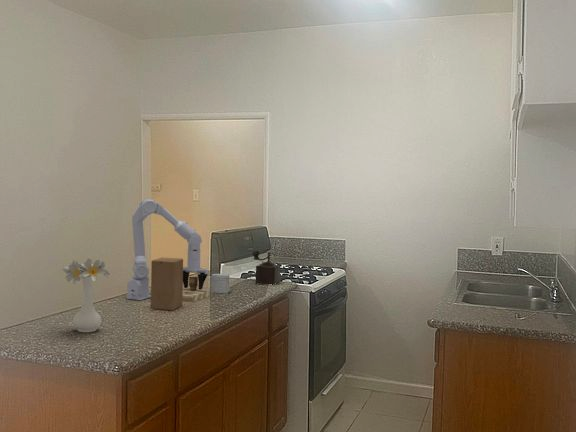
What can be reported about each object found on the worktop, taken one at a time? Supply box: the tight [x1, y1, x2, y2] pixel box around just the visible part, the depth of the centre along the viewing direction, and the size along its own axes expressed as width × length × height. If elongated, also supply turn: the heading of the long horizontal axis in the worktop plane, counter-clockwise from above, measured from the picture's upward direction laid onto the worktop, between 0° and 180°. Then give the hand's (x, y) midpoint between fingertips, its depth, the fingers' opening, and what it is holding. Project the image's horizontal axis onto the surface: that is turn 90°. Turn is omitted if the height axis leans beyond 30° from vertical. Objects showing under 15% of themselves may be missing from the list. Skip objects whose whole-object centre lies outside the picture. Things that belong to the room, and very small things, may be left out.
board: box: [182, 288, 210, 303], centre depth 256 cm, size 14×12×2 cm
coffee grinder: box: [252, 249, 281, 286], centre depth 297 cm, size 16×11×18 cm
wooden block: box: [150, 257, 184, 311], centre depth 235 cm, size 10×10×20 cm
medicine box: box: [210, 273, 230, 294], centre depth 270 cm, size 8×4×9 cm, turn 84°
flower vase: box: [62, 258, 110, 333], centre depth 195 cm, size 13×18×25 cm
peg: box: [188, 276, 199, 291], centre depth 260 cm, size 4×4×6 cm
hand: (193, 288), depth 261 cm, fingers open, 7 cm apart
